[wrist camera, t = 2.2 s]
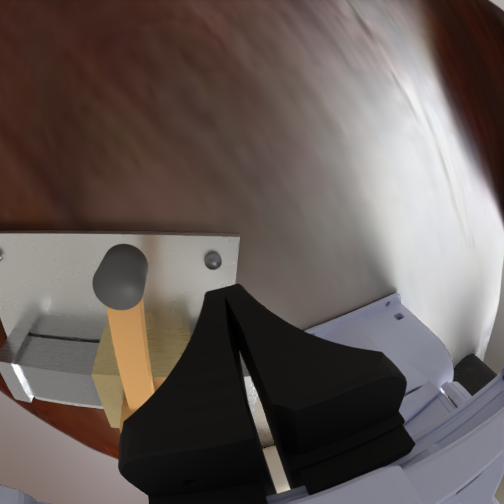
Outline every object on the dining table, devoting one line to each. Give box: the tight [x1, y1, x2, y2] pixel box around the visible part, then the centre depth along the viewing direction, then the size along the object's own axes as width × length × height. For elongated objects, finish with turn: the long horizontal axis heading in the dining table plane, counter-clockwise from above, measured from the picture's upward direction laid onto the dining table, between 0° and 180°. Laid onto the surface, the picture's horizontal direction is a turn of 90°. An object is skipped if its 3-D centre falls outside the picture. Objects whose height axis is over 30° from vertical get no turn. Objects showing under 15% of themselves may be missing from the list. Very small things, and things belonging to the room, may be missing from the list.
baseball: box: [263, 446, 290, 493], centre depth 26 cm, size 7×7×7 cm
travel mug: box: [452, 354, 497, 396], centre depth 25 cm, size 8×8×20 cm
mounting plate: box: [0, 230, 240, 409], centre depth 18 cm, size 18×16×1 cm
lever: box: [92, 244, 155, 432], centre depth 13 cm, size 12×3×2 cm, turn 173°
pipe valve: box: [0, 328, 257, 428], centre depth 17 cm, size 18×6×5 cm, turn 83°
